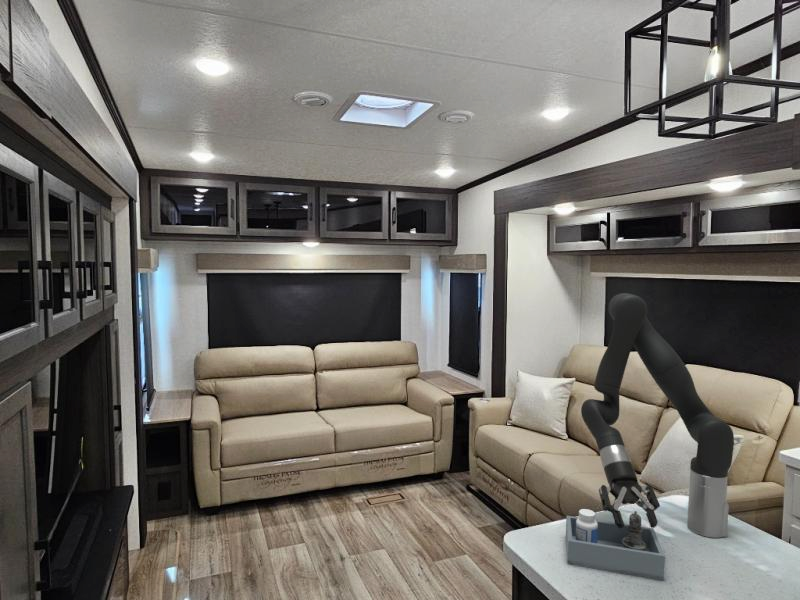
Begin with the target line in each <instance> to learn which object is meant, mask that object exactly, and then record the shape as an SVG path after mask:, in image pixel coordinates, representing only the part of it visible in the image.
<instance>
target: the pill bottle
mask: <svg viewBox="0 0 800 600" xmlns="http://www.w3.org/2000/svg"><path fill="white" fill-rule="evenodd" d="M578 517H579V518H578V519H577V520H576V540H579V541H585V542H591V543H598V523H597V522H596V521H595V520H596V513H595V512H594V510H591V509H587V508H581V509H579V511H578Z"/></svg>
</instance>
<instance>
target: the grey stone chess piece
mask: <svg viewBox="0 0 800 600" xmlns="http://www.w3.org/2000/svg"><path fill="white" fill-rule="evenodd" d="M628 521H629V522H628V524H627V525H628V526H627V528H628V536H627V537H624V538H623V539H622V543H623V547H624V548H629V549H635V550H641V551H645V548H646V547H647V545H646V543H645V542H644V541H642V540H641V532H642V531H643V530H642V528H641V527H642V517H641V516H640V515H639V514H638V512H637V510H635V511H634V512H633V513H631V514H630V515H629V518H628Z"/></svg>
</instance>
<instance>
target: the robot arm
mask: <svg viewBox="0 0 800 600" xmlns="http://www.w3.org/2000/svg"><path fill="white" fill-rule="evenodd" d="M608 313H609V316H610V318H611V319H612V320H613V326H612V332H611V336H610V340H609V343H608V345H607V347H606V349H605V352H604V353H603V356H602V358H601V360H600V362H599V365H598V369H597V372H596V376H595V380H594V385H593V387H594V389H595V391H596V392H598V393H600V394H602V395H603V400H600V399H594V398H587V399H586V400H585V401H583V403H582V405H581V410H580V413H581V418H582V420H583V421H584V424H585V426H586V427H587V428H588V431H589V432H590V434H591V435H592V436H593V438H594V439H595V442H596V446H597V449H598V452H599V455H600V460H601V461H600V462H601V465H602V468H603V471H604V474H605V478H606V481H607V484H608V486H606V485H604V484H602V485H601V486H600V487H599V488H598V493H599V497H600V502H601V506H602V510H603V511H604V512H609V513H611V514H612V518H613V520H614V523H615V524H616V526H618V528H623V527H624V524H625V522H624V519H623V515H622V513H621V510H619V509H620V506H621V504H622V505H627V504H630V505H634V504H635V505H637V506H638V507H640V508H641V509H643V511H645V515H646V518H647V521H648V524H649V528H654V529H655V528H656V527H657V526H658V523H659V521H658V518H657V516H656V512H655V511H656V510H657V509H658V508H659V507H660V506H661V505H660V502H659V500H658V497H657V495H656V493H655V491H654V488H653V486H652V484H647V485H644V486H643V485H642V486H641V485H640V483H639V481H638V477H637V476H638V475H637V473H636V471H635V469H634V465H633V463H632V462H633V461H632V460H631V457H630V454H629V452H628V450H627V448H626V446H625V442H624V440H623V437H622V435H621V431H619V430H618V429H617V428H615V427H613V425H614V424H615V423H616V422H617V421H618V419H619V417H620V389H621V386H622V382H623V378H624V375H625V371H626V368H627V365H628V361H629V357H630V354H631V351H632V349H633V347H634V349H635V351H636V352H637V355H638V356H639V357H640V360H641V362H642V363H643V364H644V366H645V368H646V370H647V371H648V372H649V374H650V376H651V377H652V378H653V380H654V382H655V384H656V385H657V386H658V388H659V389H660V390H661V391H662V393H663V394H664V396H665V397H666V398H667V399H668V401H670V403H671V404H672V405H673V407H674V408H675V409H676V411H677V413H678V414H679V417H680V418H681V420H682V422H683V424H684V426H685V428H686V430H687V432H688V433H689V436H690V437H691V439H692V440H693V441H695V442H696V443H697V447H696V448H697V449H696V456H693V457H692V458H691V460H690V468H689V469H690V470H689V484H688V485H689V487H688V505H687V507H688V508H687V522H686V523H687V524H686V525H687V529H689V530H690V531H692V532H694V533H695V534H698V535H700V536H703V537H708V538H716V539H717V538H727V537H728V524H729V506H730V505H729V503H728V502H727V494H728V475H729V470H730V468H731V467H732V464H733V455H734V454H733V453H734V446H735V444H734V443H735V435H734V431H733V428H732V427H731V426H730V425H729V424H728V423H727V422H726V421H724V420H722V419H720V418H719V417H717V416H716V415H714V413H713V412H712V411H711V410H710V409H709V408H708V407H707V406H706V404H705V403H704V401H703V400H702V399H701V397H700V396H699V394H698V392H697V389H696V386H695V383H694V381H693V377H692V375H691V373H690V371H689V369H688V368H687V366H686V364H685V363H684V362H683V360H682V358H681V357H680V356H679V354H678V353H677V352H676V351H675V349H673V347H672V346H671V345H670V344H669V343H668V342H667V341H666V340H665V339H664V338H663V337H662V335H660V334H659V333H658V331H657V330H656V329H655V328H654V327H653V326H652V324H651V322H650V320H649V319H648V317H647V314H648V307H647V304H646V302H645V300H644V299H643V298H641V297H640V296H638V295H635V294H632V293H628V292H627V293H626V292H622V293H618V294H616V295H614V296H613V297H611V299H610V301H609V303H608ZM609 494H610V495H612V497H614V500H613V502H612V504H611V501H610V496H609ZM644 495H645V496H646V497H645V496H644Z"/></svg>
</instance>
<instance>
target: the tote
mask: <svg viewBox="0 0 800 600" xmlns="http://www.w3.org/2000/svg"><path fill="white" fill-rule="evenodd" d="M578 518H579V516H571V515H566V522H565V523H566V524H565V547H566V561H567V562H566V563H567V565H572V566H577V567H584V568H589V569H596V570H599V571H600V570H601V571H607V572H613V573H618V574H624V575H629V576H630V575H631V576H634V577H635V576H636V577H642V578H648V579H653V580H659V581H664V580H665V568H666V567H665V563H666V555H665V553H664V549H663V548H662V546H661V543H660V541H659V539H658V536H657V533H656V531H655V528H651V527H648V526H647V527H646V526H641V528H642V530H643V531H642V532H641V540H642V541H644V542H645V543H646V545H647V547H646V548H645V551H641V550H635V549H629V548H624V547H623V543H622V539H623V538H624V537H627V536H628V528H627V526H628V525H629V524H628V523H627V524H626V523H624V527H623V528H618V526H616V524H615V521H614V522H612V521H606V520H598V519H595V521H596V522H597V523H598V543H591V542H585V541H579V540H576V520H577V519H578Z"/></svg>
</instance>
